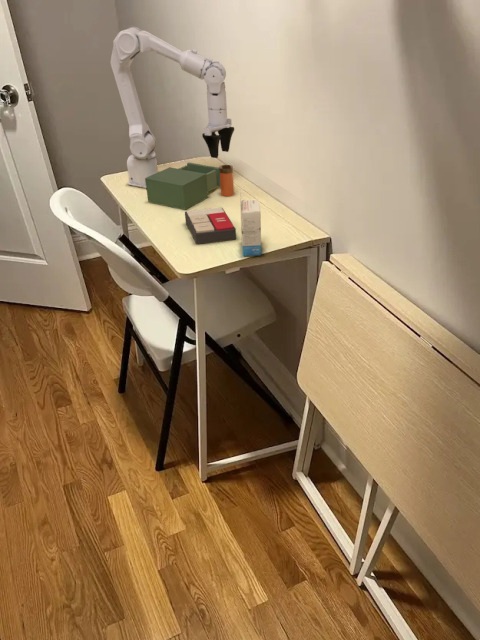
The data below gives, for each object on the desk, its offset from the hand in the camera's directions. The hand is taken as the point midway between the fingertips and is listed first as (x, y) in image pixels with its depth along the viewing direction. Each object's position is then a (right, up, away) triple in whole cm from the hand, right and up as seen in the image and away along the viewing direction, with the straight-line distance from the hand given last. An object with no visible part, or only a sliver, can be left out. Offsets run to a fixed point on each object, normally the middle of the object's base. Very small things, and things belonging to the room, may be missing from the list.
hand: (219, 154), depth 182 cm
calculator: (0, -32, -24) cm, 40 cm away
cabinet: (-12, -16, -5) cm, 21 cm away
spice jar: (+2, -13, 0) cm, 13 cm away
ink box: (+12, -39, -33) cm, 53 cm away
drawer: (-7, -9, +3) cm, 12 cm away
